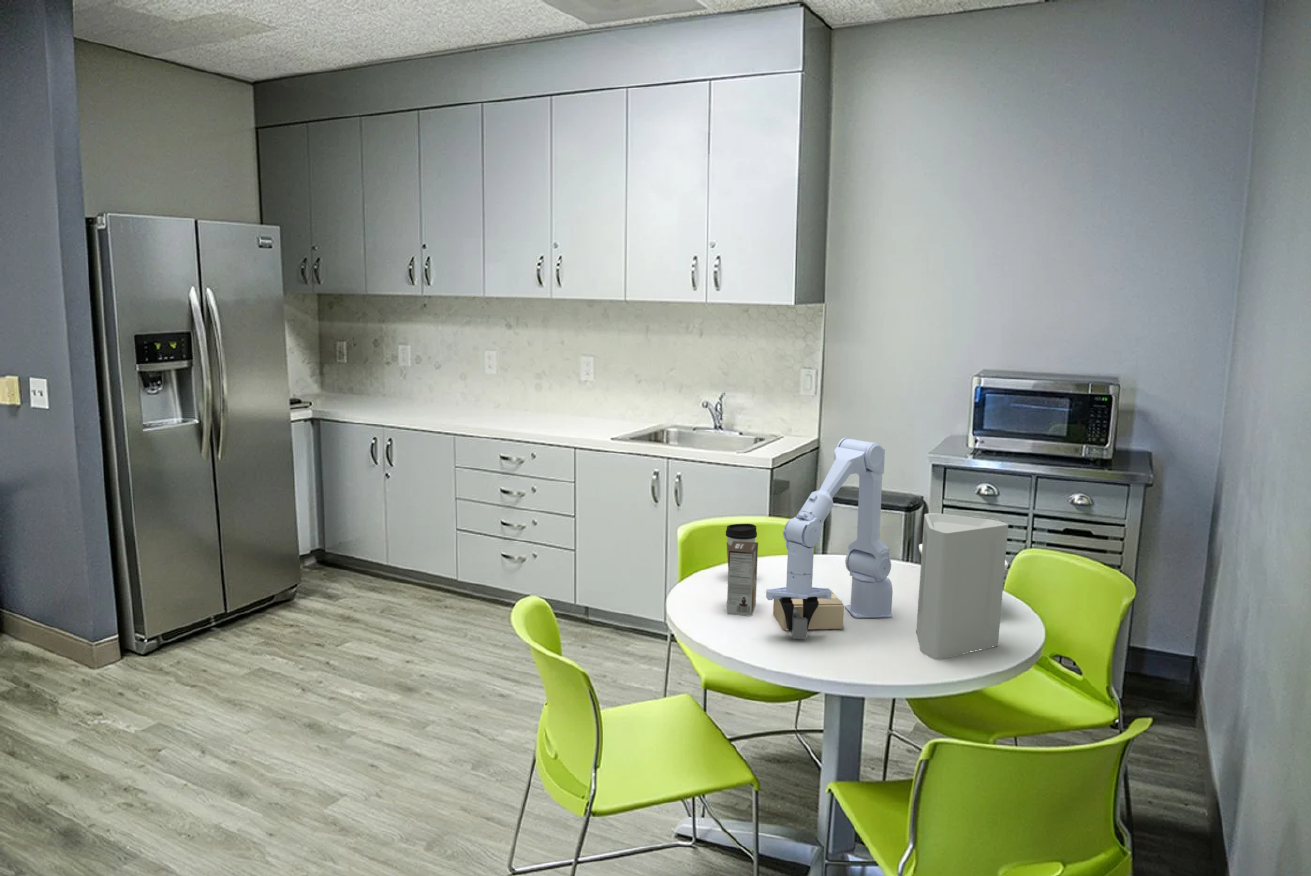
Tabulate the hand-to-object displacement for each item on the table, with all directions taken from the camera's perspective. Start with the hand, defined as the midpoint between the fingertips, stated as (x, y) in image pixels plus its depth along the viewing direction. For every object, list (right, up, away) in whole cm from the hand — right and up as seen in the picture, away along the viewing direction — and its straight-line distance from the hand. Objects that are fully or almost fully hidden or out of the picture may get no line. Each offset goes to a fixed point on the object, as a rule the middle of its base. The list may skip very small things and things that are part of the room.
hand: (797, 629), depth 210 cm
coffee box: (-11, +1, +18) cm, 21 cm away
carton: (+4, 0, +11) cm, 11 cm away
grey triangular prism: (+33, -3, 0) cm, 33 cm away
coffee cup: (-9, +5, +41) cm, 42 cm away
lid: (+5, -1, +2) cm, 5 cm away
